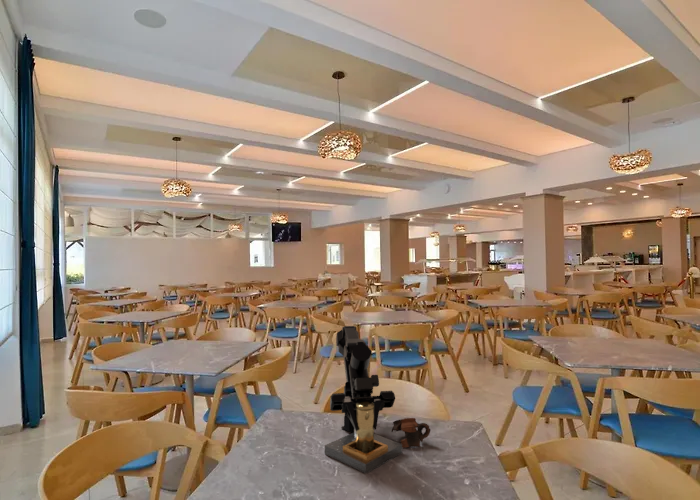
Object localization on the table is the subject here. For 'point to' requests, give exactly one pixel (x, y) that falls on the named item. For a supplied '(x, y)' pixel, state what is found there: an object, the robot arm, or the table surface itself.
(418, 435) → the pottery mug
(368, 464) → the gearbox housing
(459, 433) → the table surface
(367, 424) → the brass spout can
